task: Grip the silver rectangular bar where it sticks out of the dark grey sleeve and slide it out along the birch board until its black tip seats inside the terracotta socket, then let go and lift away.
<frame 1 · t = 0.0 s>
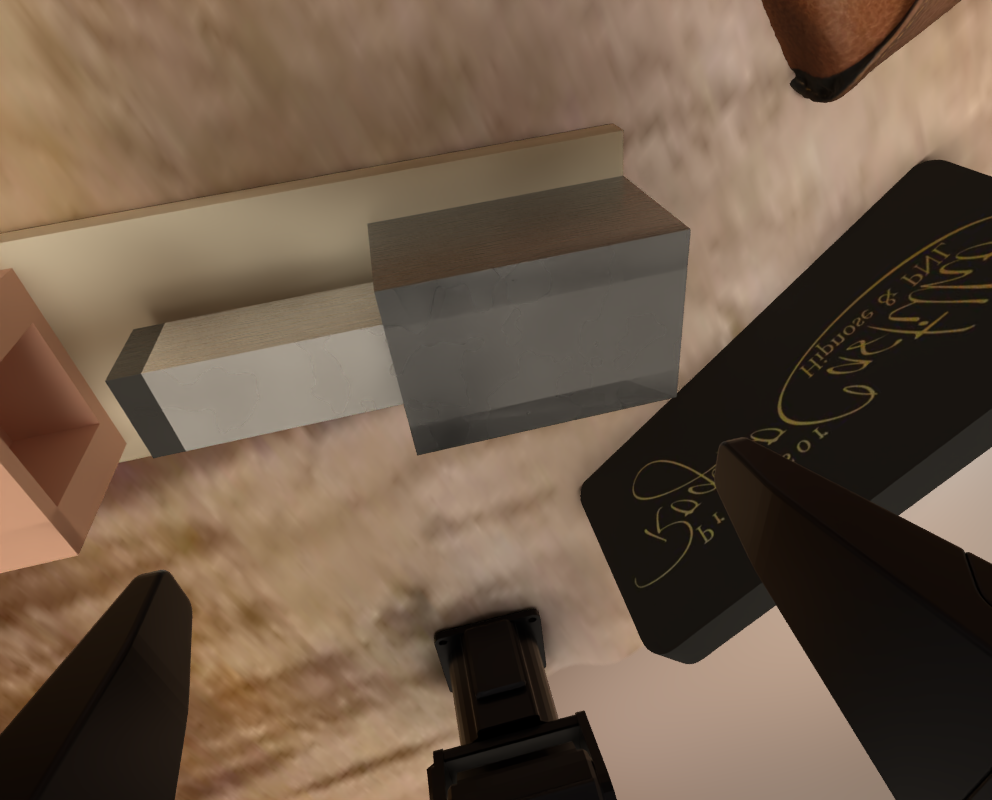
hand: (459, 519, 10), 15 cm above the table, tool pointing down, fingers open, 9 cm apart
base board: (252, 317, 23), on the table
nameplate: (736, 350, 29), on the table
grey sleeve: (523, 311, 21), on the base board, point 4 cm above the table
silver rectangular bar: (407, 338, 20), point 4 cm above the table, slide at 0.0 cm
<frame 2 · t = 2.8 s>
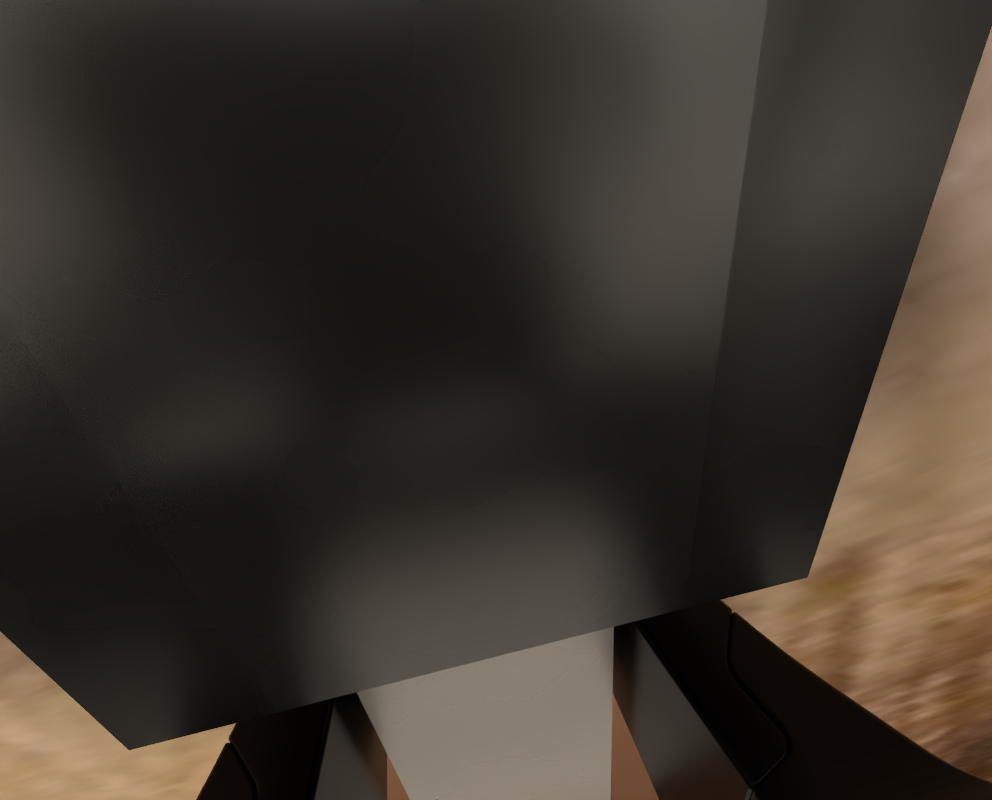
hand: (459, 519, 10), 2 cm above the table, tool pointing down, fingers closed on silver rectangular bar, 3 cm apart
grey sleeve: (351, 26, 5), on the base board, point 4 cm above the table
silver rectangular bar: (441, 440, 7), point 4 cm above the table, slide at 0.0 cm, touching gripper
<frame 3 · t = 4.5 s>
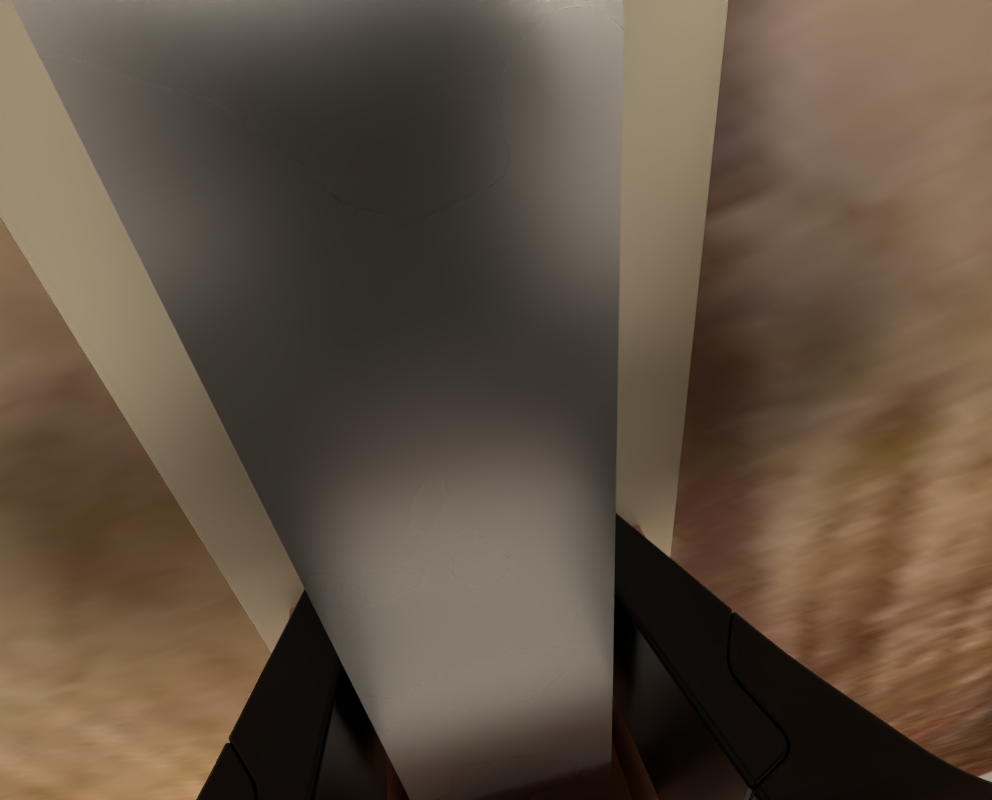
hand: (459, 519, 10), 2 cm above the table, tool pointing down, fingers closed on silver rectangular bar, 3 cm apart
terracotta socket: (507, 746, 12), on the base board, point 4 cm above the table
base board: (408, 283, 10), on the table
silver rectangular bar: (440, 439, 7), point 4 cm above the table, slide at 5.7 cm, touching gripper
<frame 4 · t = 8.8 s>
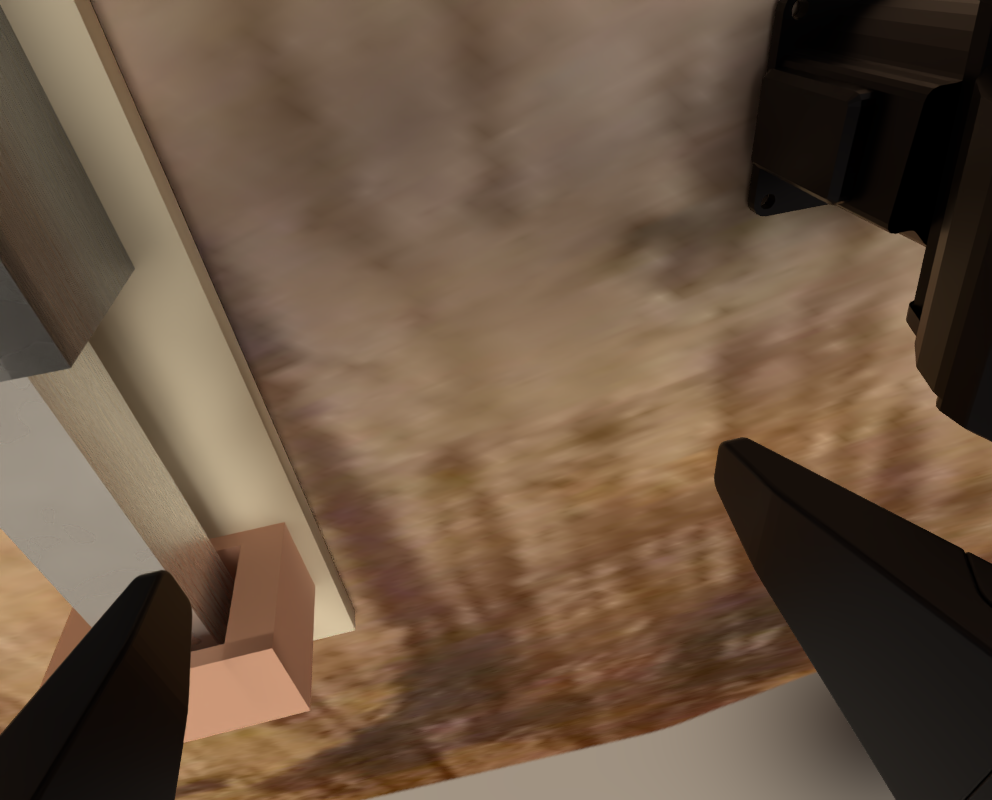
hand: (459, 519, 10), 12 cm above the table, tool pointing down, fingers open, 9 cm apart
terracotta socket: (197, 636, 23), on the base board, point 4 cm above the table
base board: (121, 407, 21), on the table
silver rectangular bar: (87, 489, 18), point 4 cm above the table, slide at 5.7 cm
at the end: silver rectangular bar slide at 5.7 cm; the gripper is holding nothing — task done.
